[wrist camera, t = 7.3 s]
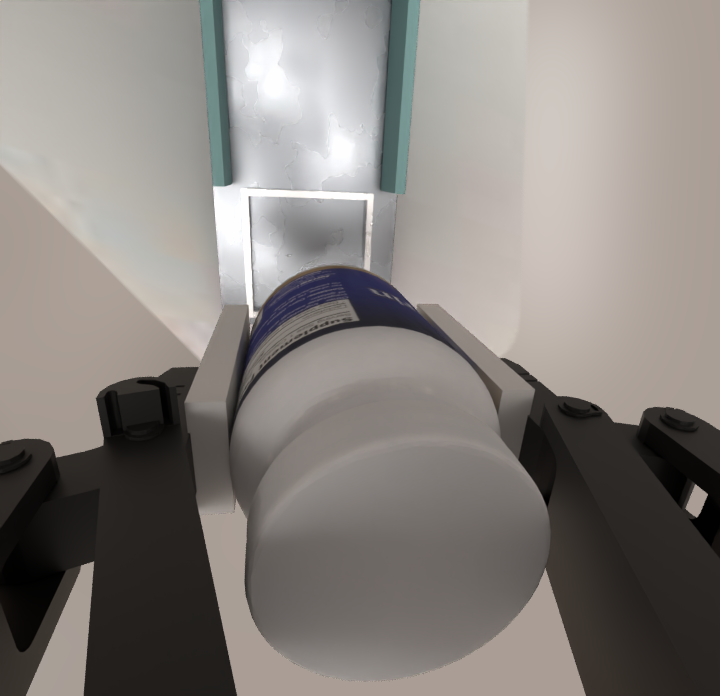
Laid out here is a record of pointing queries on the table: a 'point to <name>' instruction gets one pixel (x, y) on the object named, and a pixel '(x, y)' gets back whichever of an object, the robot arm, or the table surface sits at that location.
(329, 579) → the pill bottle
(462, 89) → the table surface
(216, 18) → the housing
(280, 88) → the plate
